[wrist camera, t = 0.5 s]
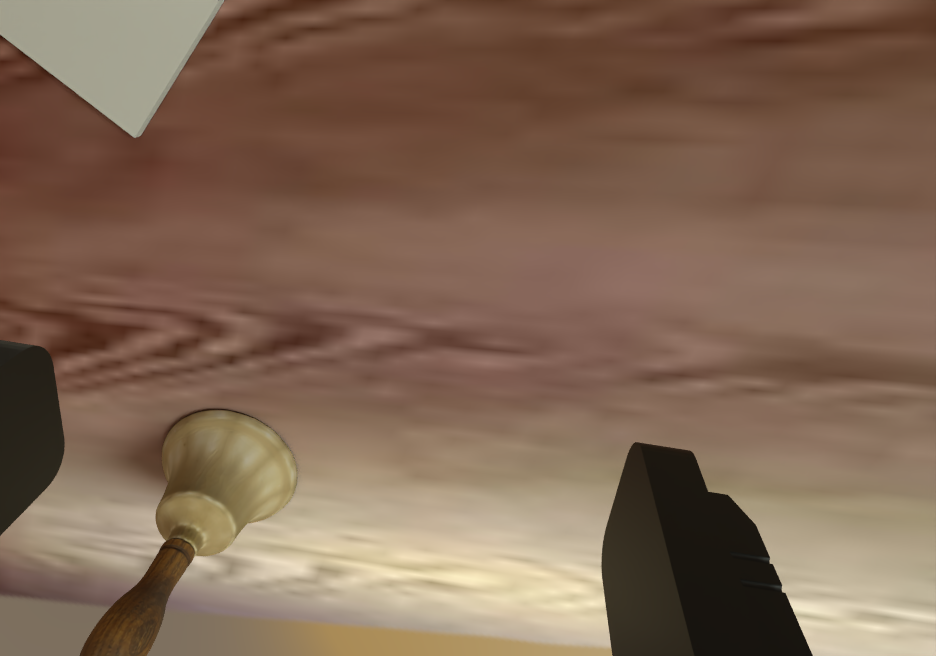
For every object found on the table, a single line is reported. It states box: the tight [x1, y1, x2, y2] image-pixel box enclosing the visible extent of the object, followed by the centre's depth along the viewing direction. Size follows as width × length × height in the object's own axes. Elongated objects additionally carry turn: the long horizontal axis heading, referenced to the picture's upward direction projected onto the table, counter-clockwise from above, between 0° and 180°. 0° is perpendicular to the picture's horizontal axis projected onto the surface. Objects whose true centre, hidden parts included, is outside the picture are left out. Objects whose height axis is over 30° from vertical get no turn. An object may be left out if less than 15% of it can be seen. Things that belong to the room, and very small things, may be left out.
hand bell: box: [80, 410, 297, 656], centre depth 35 cm, size 8×8×16 cm
